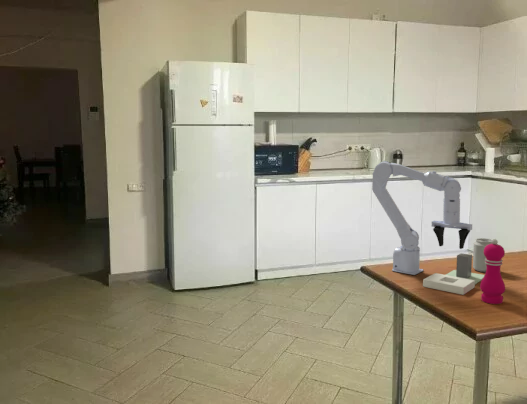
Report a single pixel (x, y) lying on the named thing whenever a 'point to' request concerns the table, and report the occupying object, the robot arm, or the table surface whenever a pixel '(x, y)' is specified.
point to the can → (480, 254)
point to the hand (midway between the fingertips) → (451, 247)
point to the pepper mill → (493, 274)
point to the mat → (473, 277)
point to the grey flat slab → (449, 283)
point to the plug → (464, 265)
